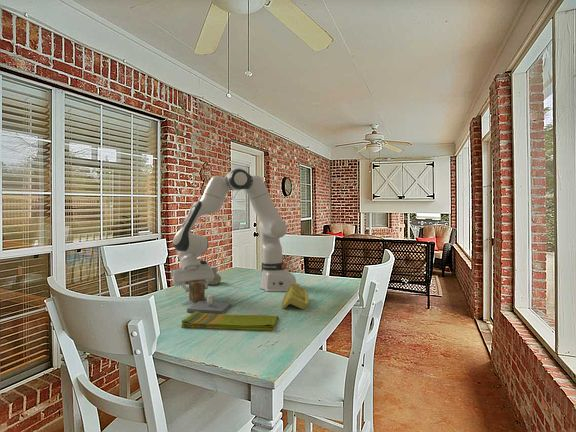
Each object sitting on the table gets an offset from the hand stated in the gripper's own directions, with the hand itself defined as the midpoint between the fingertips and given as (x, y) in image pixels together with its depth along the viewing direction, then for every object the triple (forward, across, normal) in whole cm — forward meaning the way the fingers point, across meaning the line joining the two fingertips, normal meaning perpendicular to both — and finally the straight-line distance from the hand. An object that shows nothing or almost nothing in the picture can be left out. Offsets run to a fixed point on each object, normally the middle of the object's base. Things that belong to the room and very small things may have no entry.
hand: (197, 289), depth 164 cm
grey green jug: (-16, +18, +23) cm, 33 cm away
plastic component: (+26, +37, -18) cm, 49 cm away
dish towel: (+31, +1, -22) cm, 38 cm away
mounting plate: (+15, 0, -8) cm, 17 cm away
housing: (+3, 0, +4) cm, 5 cm away
